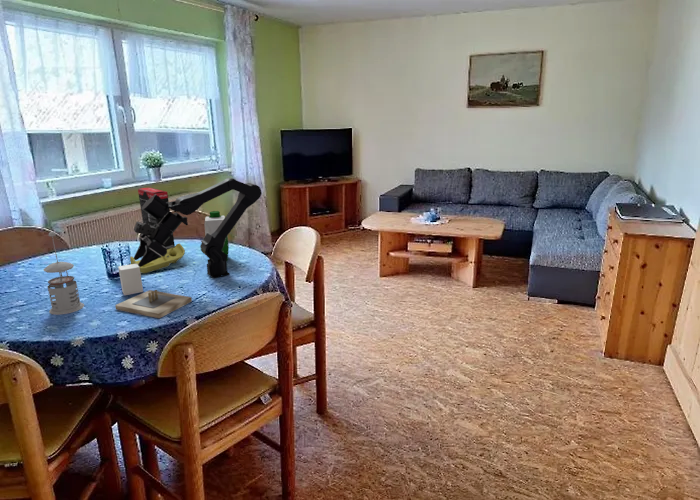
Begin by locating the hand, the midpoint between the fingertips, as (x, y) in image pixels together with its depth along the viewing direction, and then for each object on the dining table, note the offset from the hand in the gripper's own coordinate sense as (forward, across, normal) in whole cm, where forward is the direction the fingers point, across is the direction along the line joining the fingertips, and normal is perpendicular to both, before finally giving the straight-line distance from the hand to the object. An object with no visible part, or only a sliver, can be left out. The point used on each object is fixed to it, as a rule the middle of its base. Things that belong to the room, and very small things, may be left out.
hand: (136, 262), depth 160 cm
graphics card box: (-5, -52, +19) cm, 56 cm away
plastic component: (-1, -24, +15) cm, 29 cm away
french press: (+23, +3, -8) cm, 25 cm away
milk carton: (-17, -19, +31) cm, 40 cm away
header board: (+6, +18, +8) cm, 20 cm away
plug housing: (+9, 0, +5) cm, 10 cm away
